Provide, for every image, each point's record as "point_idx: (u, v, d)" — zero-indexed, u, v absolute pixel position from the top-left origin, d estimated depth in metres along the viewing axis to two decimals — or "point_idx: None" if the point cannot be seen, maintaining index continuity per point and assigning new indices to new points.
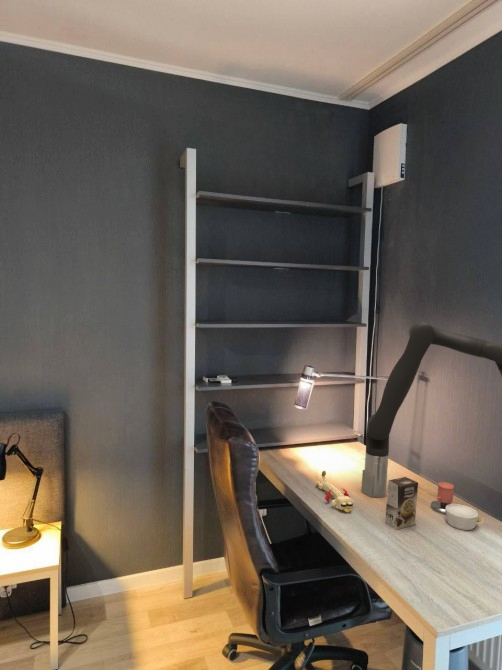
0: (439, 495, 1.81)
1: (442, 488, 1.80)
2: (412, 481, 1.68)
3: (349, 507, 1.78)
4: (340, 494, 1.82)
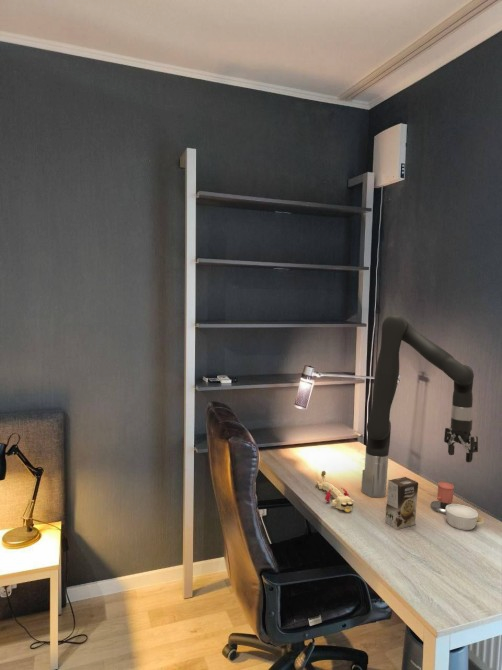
0: (439, 495, 1.81)
1: (442, 488, 1.80)
2: (412, 481, 1.68)
3: (349, 507, 1.78)
4: (340, 494, 1.82)
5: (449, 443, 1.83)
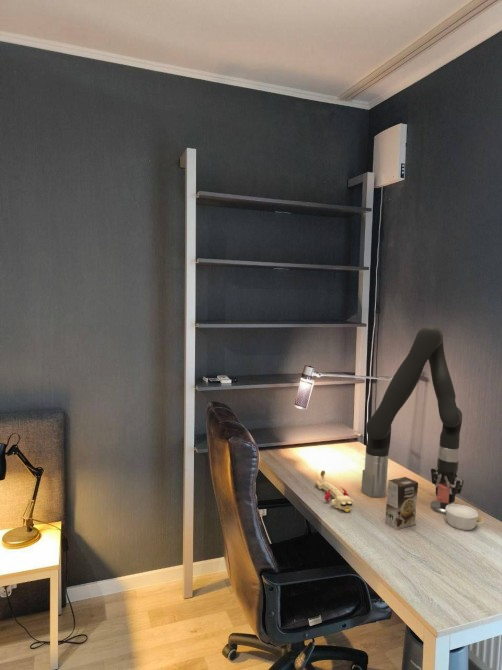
0: (439, 495, 1.81)
1: (442, 488, 1.80)
2: (412, 481, 1.68)
3: (349, 506, 1.78)
4: (340, 494, 1.82)
5: (437, 484, 1.84)
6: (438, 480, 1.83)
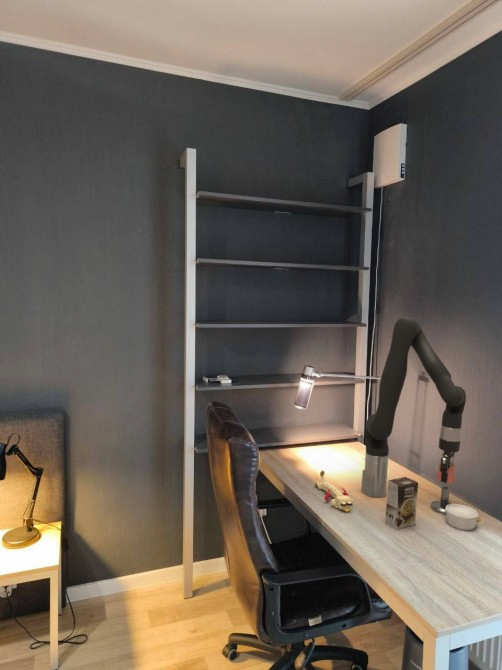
0: None
1: (439, 465, 1.82)
2: (412, 481, 1.68)
3: (349, 506, 1.78)
4: (339, 493, 1.82)
5: None
6: None
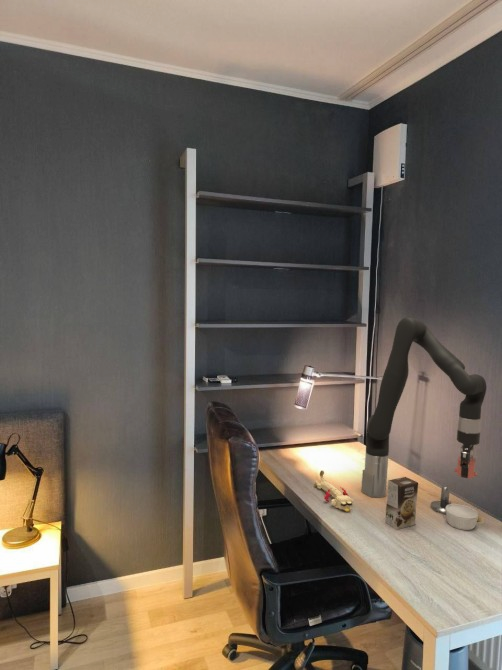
0: None
1: (458, 459, 1.70)
2: (412, 481, 1.68)
3: (349, 506, 1.78)
4: (339, 493, 1.82)
5: None
6: None
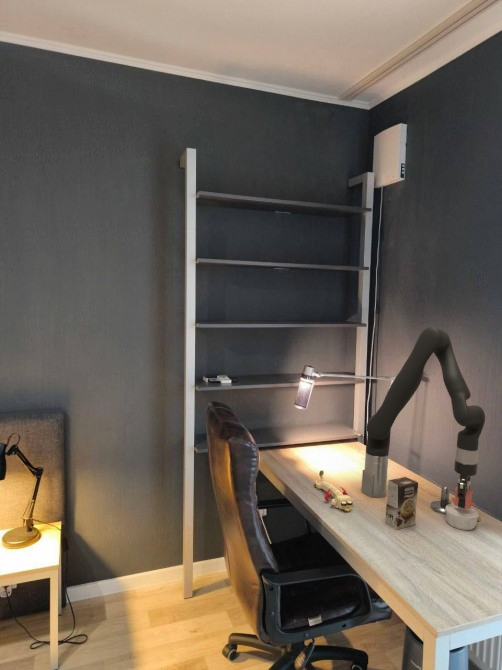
0: (455, 497, 1.72)
1: (455, 489, 1.71)
2: (412, 481, 1.68)
3: (349, 506, 1.79)
4: (339, 493, 1.83)
5: None
6: None
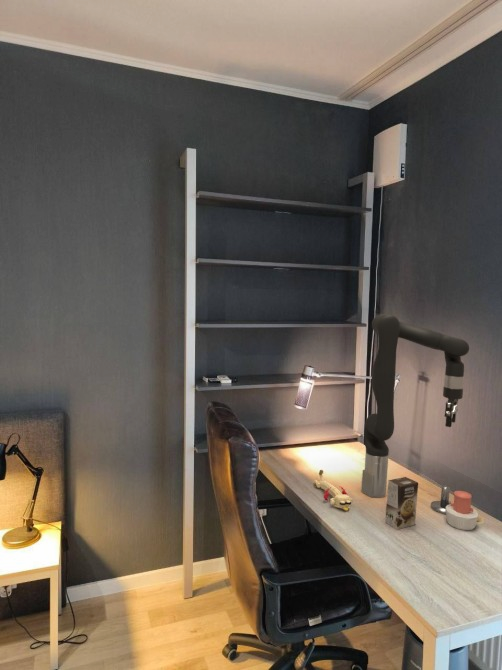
0: (454, 502, 1.72)
1: (454, 494, 1.71)
2: (412, 481, 1.68)
3: (348, 505, 1.79)
4: (338, 492, 1.83)
5: None
6: None
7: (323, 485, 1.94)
